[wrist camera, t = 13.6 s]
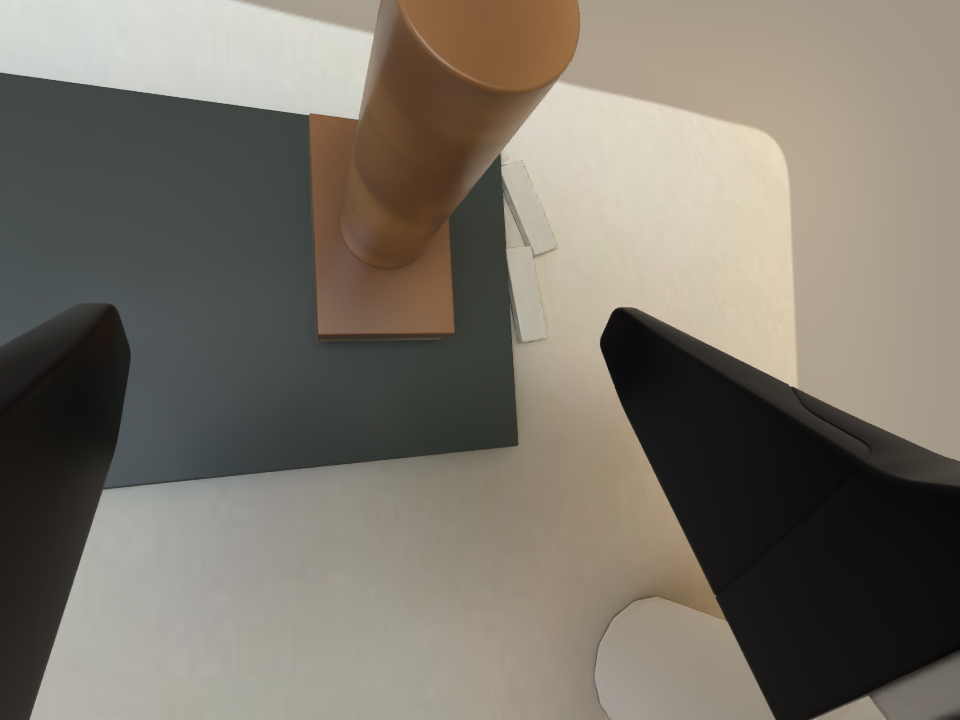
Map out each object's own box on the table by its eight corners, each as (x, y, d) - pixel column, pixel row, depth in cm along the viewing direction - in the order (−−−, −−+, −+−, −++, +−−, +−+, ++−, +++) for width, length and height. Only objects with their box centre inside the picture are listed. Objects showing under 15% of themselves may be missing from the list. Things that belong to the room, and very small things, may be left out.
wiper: (430, 157, 21) (609, -188, 8) (440, 340, 20) (644, 251, 8) (308, 143, 19) (312, -318, 7) (316, 342, 18) (335, 234, 6)
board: (492, 151, 23) (500, 141, 22) (509, 443, 22) (518, 446, 21) (-144, 68, 15) (-174, 47, 14) (-155, 512, 14) (-187, 520, 13)
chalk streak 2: (526, 248, 23) (531, 245, 23) (543, 339, 23) (548, 337, 23) (500, 250, 23) (504, 247, 22) (518, 343, 23) (522, 342, 22)
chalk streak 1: (518, 164, 23) (522, 159, 23) (553, 249, 24) (558, 246, 23) (494, 171, 23) (498, 166, 22) (530, 258, 23) (535, 255, 23)
